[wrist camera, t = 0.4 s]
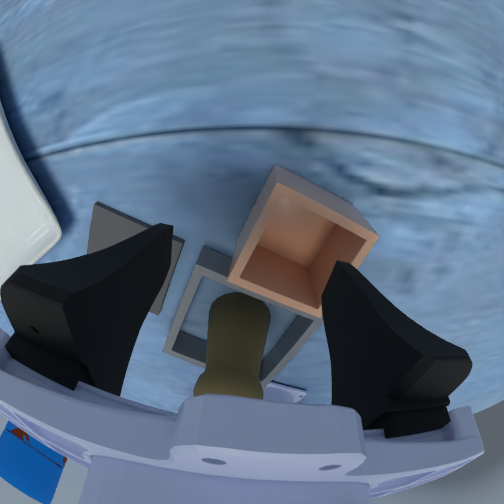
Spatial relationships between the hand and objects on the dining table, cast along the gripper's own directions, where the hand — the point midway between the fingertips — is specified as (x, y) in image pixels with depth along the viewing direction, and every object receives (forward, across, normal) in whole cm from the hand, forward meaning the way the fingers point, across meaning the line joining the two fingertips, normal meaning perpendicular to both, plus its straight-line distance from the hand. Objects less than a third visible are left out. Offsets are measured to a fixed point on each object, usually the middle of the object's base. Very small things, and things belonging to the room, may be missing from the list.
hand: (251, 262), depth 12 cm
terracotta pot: (+10, -3, +2) cm, 11 cm away
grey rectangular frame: (+10, -1, +13) cm, 16 cm away
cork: (+10, -1, +13) cm, 16 cm away
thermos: (+9, +25, +37) cm, 45 cm away
